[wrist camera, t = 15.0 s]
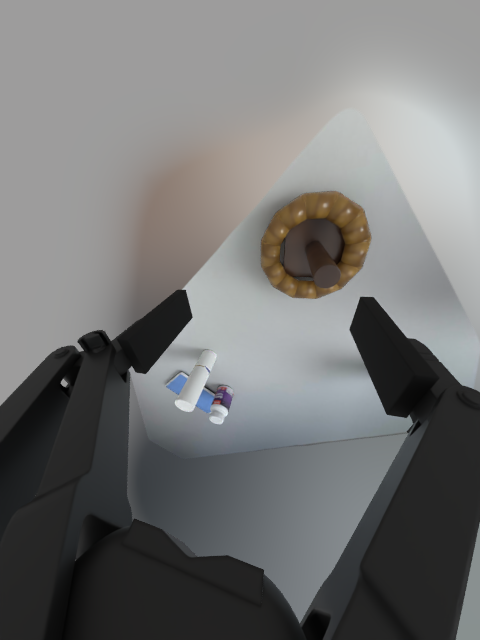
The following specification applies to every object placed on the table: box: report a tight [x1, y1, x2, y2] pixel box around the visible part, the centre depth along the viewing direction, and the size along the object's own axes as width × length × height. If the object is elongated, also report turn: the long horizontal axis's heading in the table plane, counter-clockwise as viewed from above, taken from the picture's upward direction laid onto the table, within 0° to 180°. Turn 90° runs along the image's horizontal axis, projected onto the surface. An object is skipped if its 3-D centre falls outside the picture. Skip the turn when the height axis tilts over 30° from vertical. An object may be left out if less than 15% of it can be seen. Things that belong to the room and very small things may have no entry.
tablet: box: [166, 372, 215, 413], centre depth 62 cm, size 19×13×1 cm, turn 50°
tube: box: [175, 350, 217, 412], centre depth 44 cm, size 4×4×15 cm
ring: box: [261, 191, 371, 299], centre depth 27 cm, size 15×15×3 cm
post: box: [283, 218, 345, 289], centre depth 24 cm, size 9×9×14 cm
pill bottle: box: [209, 385, 234, 424], centre depth 53 cm, size 5×5×10 cm
